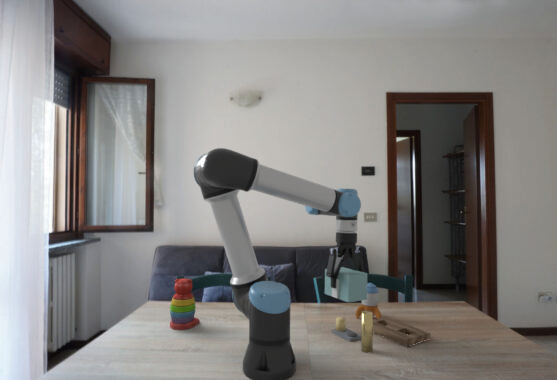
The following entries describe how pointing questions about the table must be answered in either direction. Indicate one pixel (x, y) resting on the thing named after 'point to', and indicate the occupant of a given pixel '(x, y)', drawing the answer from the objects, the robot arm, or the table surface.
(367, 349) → the peg
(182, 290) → the stacking bear
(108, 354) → the table surface
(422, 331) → the board
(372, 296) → the toy rocket
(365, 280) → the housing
